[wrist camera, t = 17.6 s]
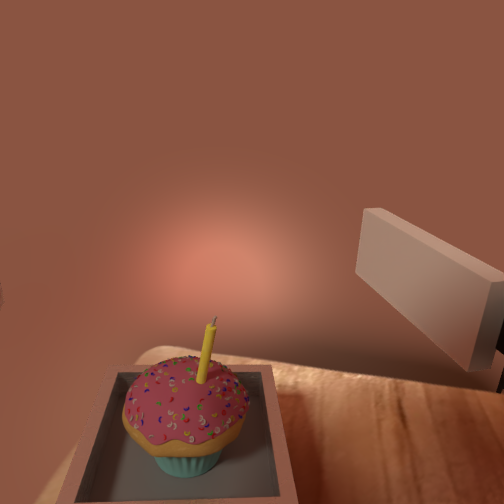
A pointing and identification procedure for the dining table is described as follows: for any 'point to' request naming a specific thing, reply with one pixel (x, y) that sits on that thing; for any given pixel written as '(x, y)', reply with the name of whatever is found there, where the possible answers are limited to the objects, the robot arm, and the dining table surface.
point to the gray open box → (174, 488)
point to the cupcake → (186, 411)
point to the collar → (283, 499)
